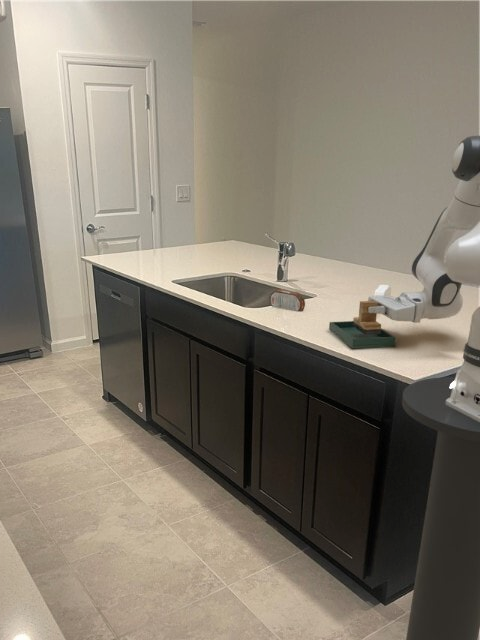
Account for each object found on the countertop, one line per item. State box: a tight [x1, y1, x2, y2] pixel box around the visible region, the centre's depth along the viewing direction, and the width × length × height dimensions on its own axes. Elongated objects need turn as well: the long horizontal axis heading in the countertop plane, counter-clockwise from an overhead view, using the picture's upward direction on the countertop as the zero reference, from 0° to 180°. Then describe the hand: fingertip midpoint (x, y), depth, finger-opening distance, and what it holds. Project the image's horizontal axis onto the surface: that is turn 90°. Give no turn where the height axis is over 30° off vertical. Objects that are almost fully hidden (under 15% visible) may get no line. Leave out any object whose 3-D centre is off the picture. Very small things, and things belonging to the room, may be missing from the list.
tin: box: [269, 288, 306, 312], centre depth 212 cm, size 15×3×8 cm, turn 47°
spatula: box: [373, 284, 392, 296], centre depth 200 cm, size 38×8×4 cm
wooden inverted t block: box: [352, 300, 382, 334], centre depth 172 cm, size 10×5×9 cm, turn 6°
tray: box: [328, 320, 397, 349], centre depth 177 cm, size 22×14×3 cm, turn 6°
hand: (365, 308), depth 171 cm, fingers closed on wooden inverted t block, 2 cm apart
